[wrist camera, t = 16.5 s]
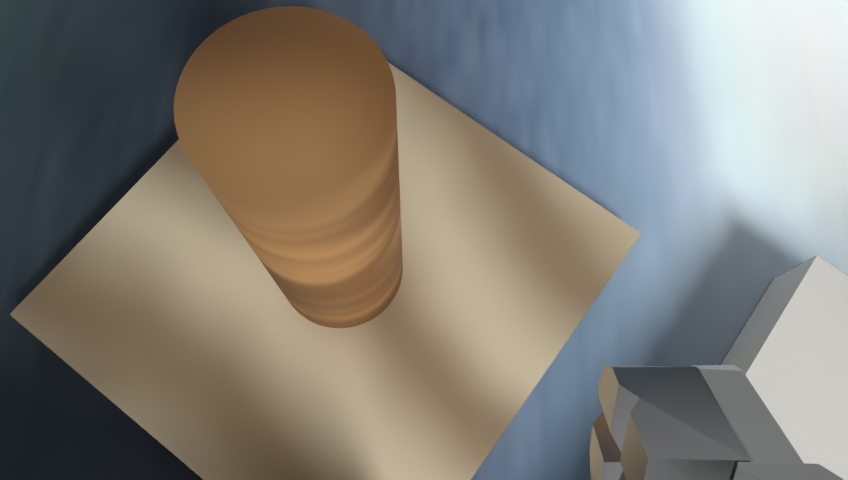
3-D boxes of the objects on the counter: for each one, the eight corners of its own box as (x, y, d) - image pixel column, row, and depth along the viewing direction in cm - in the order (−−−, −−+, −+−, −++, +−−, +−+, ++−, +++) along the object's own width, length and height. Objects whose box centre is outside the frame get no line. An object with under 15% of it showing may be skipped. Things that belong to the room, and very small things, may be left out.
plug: (381, 343, 25) (356, 230, 13) (262, 307, 25) (137, 166, 14) (417, 229, 26) (423, 37, 15) (304, 196, 26) (223, -16, 15)
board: (372, 616, 23) (371, 622, 22) (24, 320, 26) (9, 314, 25) (632, 242, 27) (641, 233, 26) (309, 21, 30) (306, 7, 29)
